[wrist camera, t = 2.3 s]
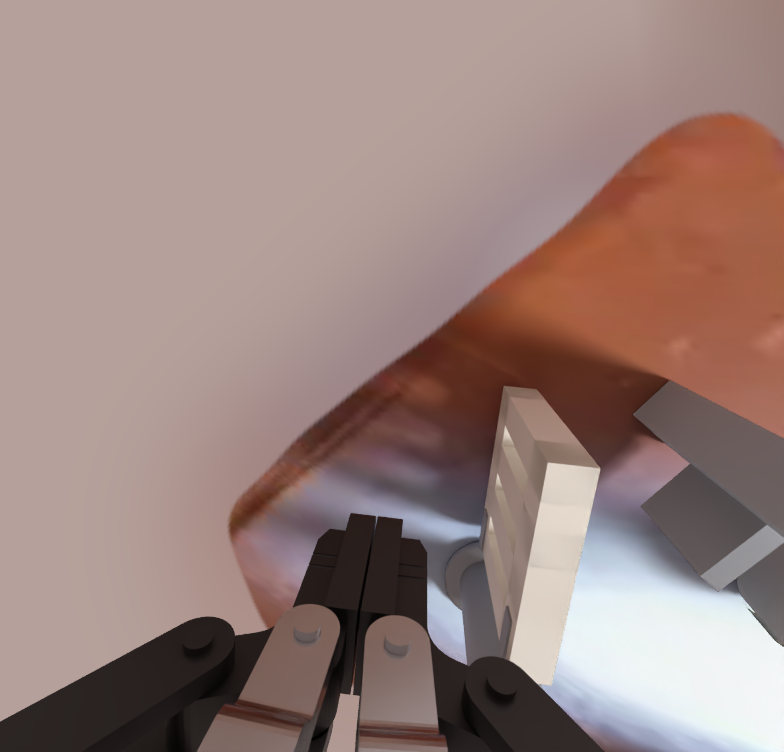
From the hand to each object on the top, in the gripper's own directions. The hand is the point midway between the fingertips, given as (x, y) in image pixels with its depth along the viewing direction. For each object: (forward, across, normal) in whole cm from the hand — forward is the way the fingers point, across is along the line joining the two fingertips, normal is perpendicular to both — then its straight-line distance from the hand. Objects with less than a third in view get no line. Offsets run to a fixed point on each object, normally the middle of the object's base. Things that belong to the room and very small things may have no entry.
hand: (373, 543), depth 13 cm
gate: (+11, -6, +2) cm, 12 cm away
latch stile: (+11, -13, 0) cm, 17 cm away
